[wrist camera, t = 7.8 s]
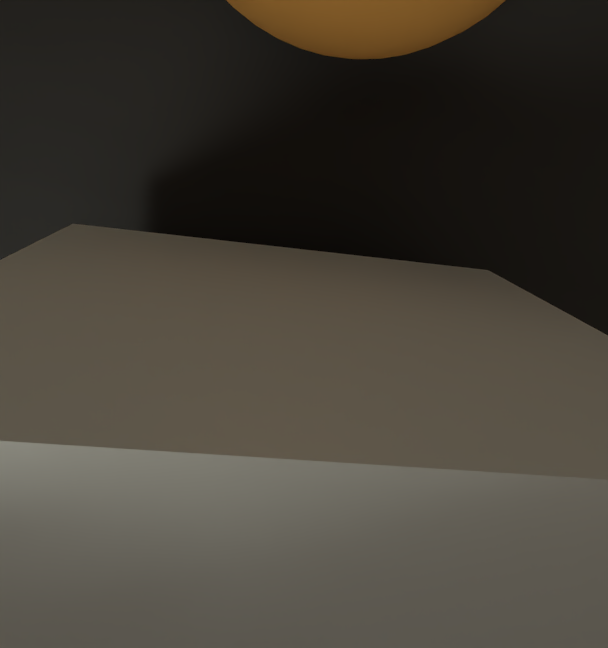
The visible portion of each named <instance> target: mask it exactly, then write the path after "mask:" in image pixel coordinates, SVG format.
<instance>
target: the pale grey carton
mask: <svg viewBox="0 0 608 648" xmlns="http://www.w3.org/2000/svg"><path fill="white" fill-rule="evenodd" d="M0 648H608V335H606V334H604V333H602V332H601V331H599V330H597V329H595V328H593V327H591V326H590V325H588V324H586V323H584V322H582V321H580V320H579V319H577V318H575V317H573V316H571V315H569V314H568V313H566V312H564V311H562V310H560V309H558V308H557V307H555V306H553V305H551V304H549V303H547V302H546V301H544V300H542V299H540V298H538V297H536V296H535V295H533V294H531V293H529V292H527V291H525V290H524V289H522V288H520V287H518V286H516V285H514V284H513V283H511V282H509V281H507V280H505V279H503V278H502V277H500V276H498V275H496V274H494V273H492V272H491V271H489V270H483V269H474V268H465V267H456V266H447V265H438V264H429V263H421V262H412V261H403V260H394V259H385V258H376V257H367V256H358V255H349V254H340V253H331V252H322V251H313V250H304V249H295V248H287V247H278V246H269V245H260V244H251V243H242V242H233V241H224V240H215V239H206V238H197V237H188V236H179V235H170V234H161V233H152V232H144V231H135V230H126V229H117V228H108V227H99V226H90V225H81V224H71V225H69V226H67V227H65V228H63V229H61V230H59V231H57V232H55V233H53V234H51V235H49V236H47V237H45V238H43V239H41V240H39V241H37V242H35V243H33V244H31V245H29V246H27V247H25V248H23V249H21V250H19V251H17V252H15V253H13V254H11V255H9V256H7V257H5V258H3V259H1V260H0Z"/></svg>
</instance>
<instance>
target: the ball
mask: <svg viewBox="0 0 608 648" xmlns="http://www.w3.org/2000/svg"><path fill="white" fill-rule="evenodd" d="M226 1H227V2H228V3H229V4H230V5H231V6H232V7H234V8H235V9H236V10H237V11H238V12H240V13H241V14H242V15H243V16H245V17H246V18H247V19H248V20H250V21H251V22H252V23H253V24H255V25H256V26H258V27H259V28H261V29H263V30H264V31H266V32H268V33H269V34H271V35H272V36H274V37H276V38H277V39H280V40H282V41H284V42H286V43H289V44H291V45H293V46H296V47H298V48H300V49H303V50H307V51H310V52H314V53H317V54H321V55H325V56H332V57H339V58H347V59H382V58H388V57H394V56H401V55H406V54H409V53H413V52H416V51H419V50H422V49H426V48H429V47H431V46H433V45H436V44H438V43H440V42H442V41H444V40H446V39H448V38H451V37H453V36H455V35H457V34H459V33H461V32H463V31H465V30H467V29H468V28H470V27H471V26H473V25H474V24H476V23H477V22H479V21H481V20H482V19H484V18H485V17H487V16H488V15H489V14H490V13H491V12H493V11H494V10H495V9H496V8H497V7H499V6H500V5H501V4H502V3H503V2H504V1H506V0H226Z"/></svg>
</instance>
